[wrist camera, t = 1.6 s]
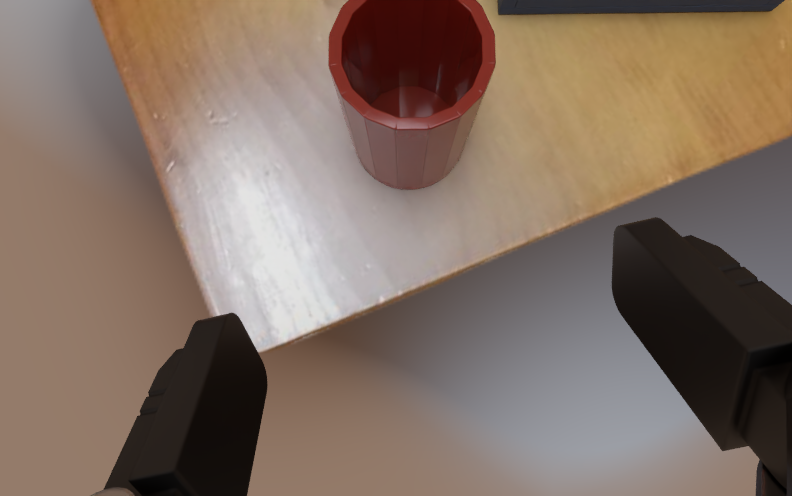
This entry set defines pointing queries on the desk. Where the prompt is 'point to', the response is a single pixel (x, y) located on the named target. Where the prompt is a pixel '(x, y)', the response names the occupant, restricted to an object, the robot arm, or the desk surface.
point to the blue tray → (631, 6)
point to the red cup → (410, 83)
